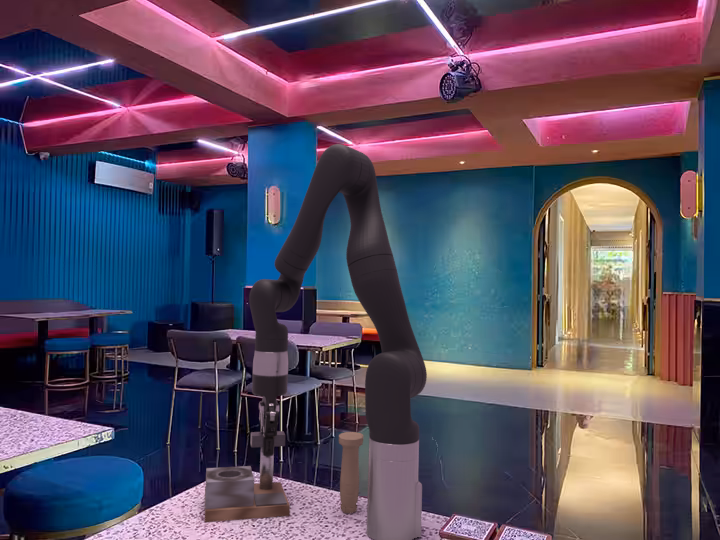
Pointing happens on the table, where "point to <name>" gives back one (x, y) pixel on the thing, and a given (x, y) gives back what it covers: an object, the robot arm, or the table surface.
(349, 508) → the handle
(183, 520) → the table surface
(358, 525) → the table surface
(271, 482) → the hammer
